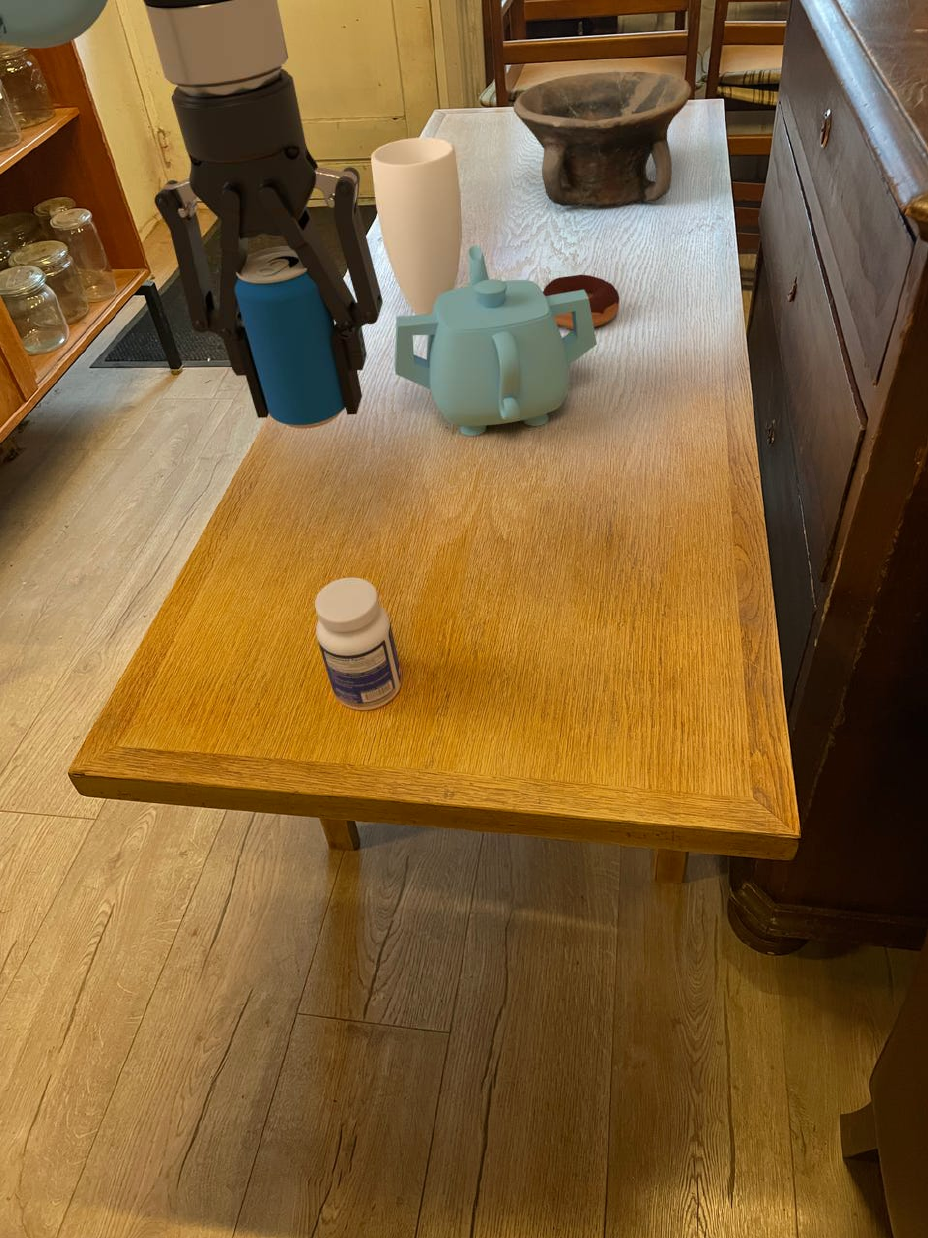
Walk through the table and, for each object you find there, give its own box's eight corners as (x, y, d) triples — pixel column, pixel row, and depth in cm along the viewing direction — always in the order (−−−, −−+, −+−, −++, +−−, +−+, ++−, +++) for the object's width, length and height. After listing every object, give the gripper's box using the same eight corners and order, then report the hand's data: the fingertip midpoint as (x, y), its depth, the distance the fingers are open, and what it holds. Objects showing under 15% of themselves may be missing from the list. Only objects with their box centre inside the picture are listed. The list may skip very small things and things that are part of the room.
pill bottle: (349, 654, 75) (327, 566, 68) (412, 666, 73) (396, 577, 66) (321, 706, 71) (294, 618, 64) (387, 719, 70) (367, 631, 63)
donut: (628, 327, 112) (629, 296, 109) (551, 339, 111) (551, 308, 108) (606, 293, 119) (607, 263, 116) (534, 304, 118) (533, 274, 115)
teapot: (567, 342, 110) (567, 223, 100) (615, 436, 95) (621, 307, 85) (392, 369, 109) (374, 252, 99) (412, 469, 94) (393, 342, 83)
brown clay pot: (527, 167, 156) (524, 69, 145) (682, 162, 151) (690, 61, 140) (507, 228, 137) (501, 121, 127) (683, 224, 132) (692, 113, 122)
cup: (489, 327, 114) (477, 147, 99) (425, 357, 110) (402, 174, 95) (440, 303, 121) (422, 129, 106) (377, 330, 117) (349, 154, 101)
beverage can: (367, 400, 71) (339, 250, 63) (316, 442, 67) (279, 289, 59) (306, 383, 74) (271, 238, 66) (254, 422, 70) (209, 274, 62)
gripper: (394, 47, 56) (436, 377, 72) (102, 72, 58) (206, 386, 74) (376, 81, 50) (426, 428, 67) (55, 108, 53) (179, 437, 69)
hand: (310, 406), depth 70 cm, fingers closed on beverage can, 6 cm apart
